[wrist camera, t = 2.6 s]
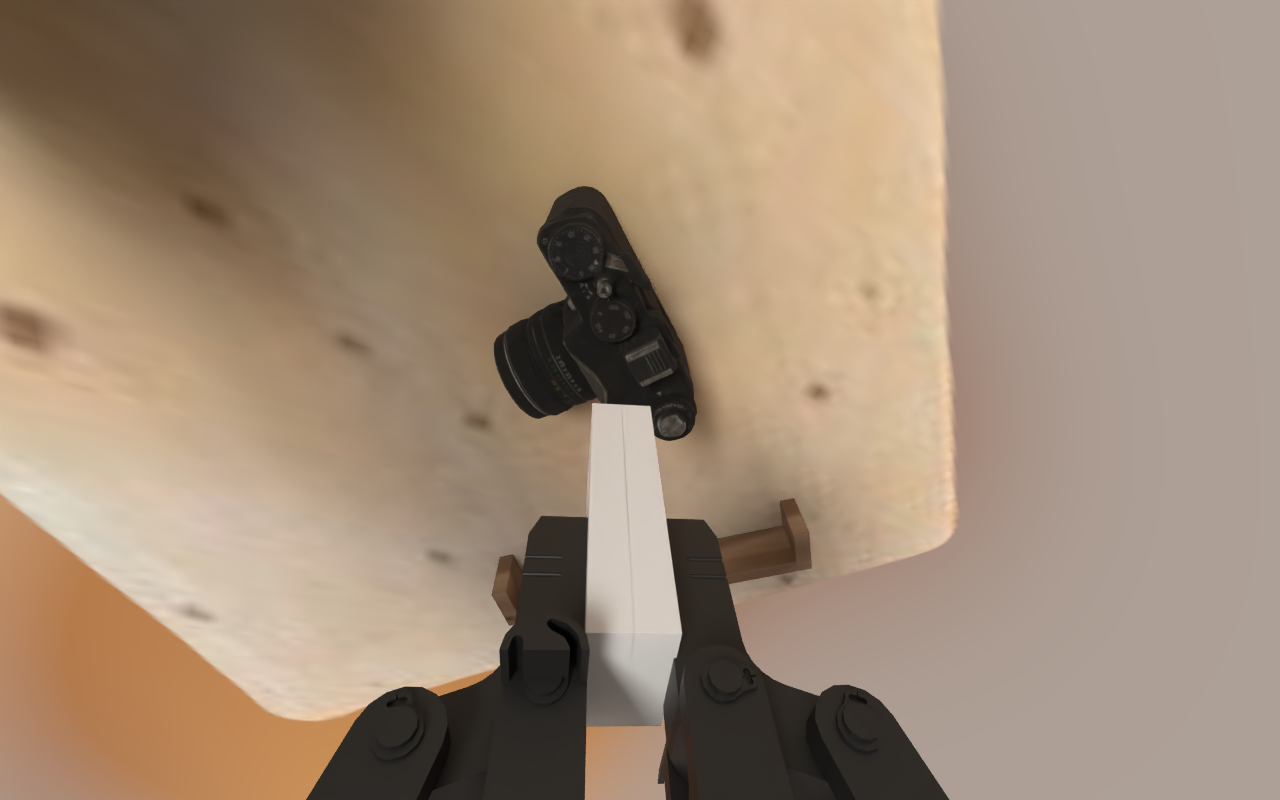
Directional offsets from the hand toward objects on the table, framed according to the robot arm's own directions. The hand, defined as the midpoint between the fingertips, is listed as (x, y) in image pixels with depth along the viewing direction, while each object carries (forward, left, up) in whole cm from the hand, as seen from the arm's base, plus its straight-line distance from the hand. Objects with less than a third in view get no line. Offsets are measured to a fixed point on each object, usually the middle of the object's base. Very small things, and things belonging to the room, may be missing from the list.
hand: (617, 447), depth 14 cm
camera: (+4, -3, -23) cm, 23 cm away
